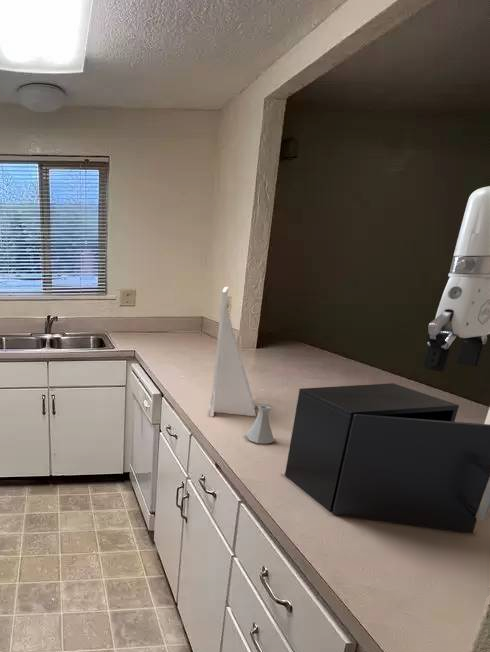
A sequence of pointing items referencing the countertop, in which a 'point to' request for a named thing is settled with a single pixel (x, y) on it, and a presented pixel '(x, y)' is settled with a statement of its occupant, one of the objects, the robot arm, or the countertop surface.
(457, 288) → the robot arm
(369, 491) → the fridge door
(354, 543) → the countertop surface
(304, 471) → the mini fridge
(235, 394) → the white bracket plate
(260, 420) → the flask
